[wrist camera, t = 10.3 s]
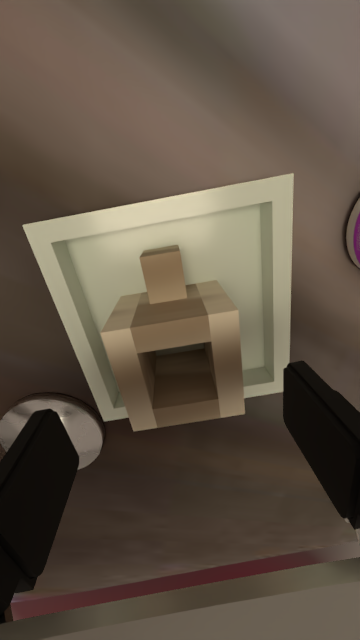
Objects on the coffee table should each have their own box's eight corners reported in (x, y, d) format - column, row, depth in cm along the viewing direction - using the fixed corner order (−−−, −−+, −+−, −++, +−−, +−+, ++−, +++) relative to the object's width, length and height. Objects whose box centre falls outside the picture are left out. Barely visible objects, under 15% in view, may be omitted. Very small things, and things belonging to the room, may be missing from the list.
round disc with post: (116, 454, 22) (100, 526, 17) (30, 467, 22) (-10, 543, 17) (87, 384, 18) (56, 449, 13) (-13, 402, 19) (-80, 471, 14)
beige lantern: (224, 360, 17) (245, 414, 13) (142, 373, 17) (133, 431, 13) (212, 238, 14) (234, 251, 9) (109, 256, 14) (81, 277, 9)
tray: (273, 369, 19) (288, 390, 16) (111, 396, 19) (103, 421, 17) (272, 180, 13) (293, 173, 11) (46, 223, 14) (22, 225, 11)
